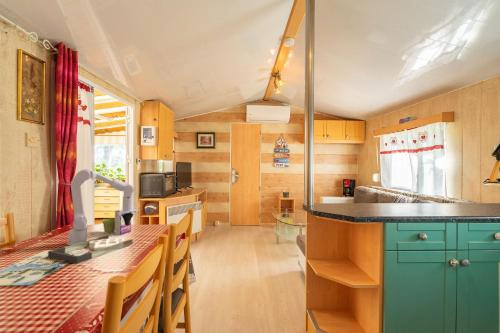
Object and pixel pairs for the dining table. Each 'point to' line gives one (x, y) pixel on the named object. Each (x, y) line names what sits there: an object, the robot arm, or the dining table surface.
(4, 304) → the dining table surface
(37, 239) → the dining table surface
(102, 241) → the white brass knuckles
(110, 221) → the plant pot
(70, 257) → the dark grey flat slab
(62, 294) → the dining table surface
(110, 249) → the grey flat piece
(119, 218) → the candy bar box
